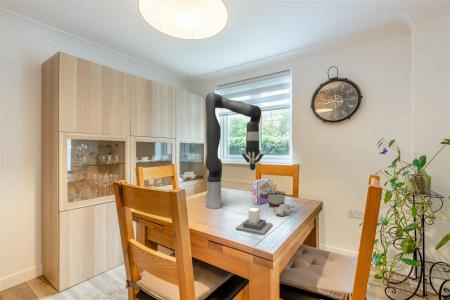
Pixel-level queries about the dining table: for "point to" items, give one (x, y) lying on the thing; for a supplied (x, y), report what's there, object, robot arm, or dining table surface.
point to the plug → (254, 216)
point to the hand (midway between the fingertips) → (252, 170)
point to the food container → (276, 198)
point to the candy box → (261, 191)
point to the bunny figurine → (283, 209)
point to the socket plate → (254, 227)
